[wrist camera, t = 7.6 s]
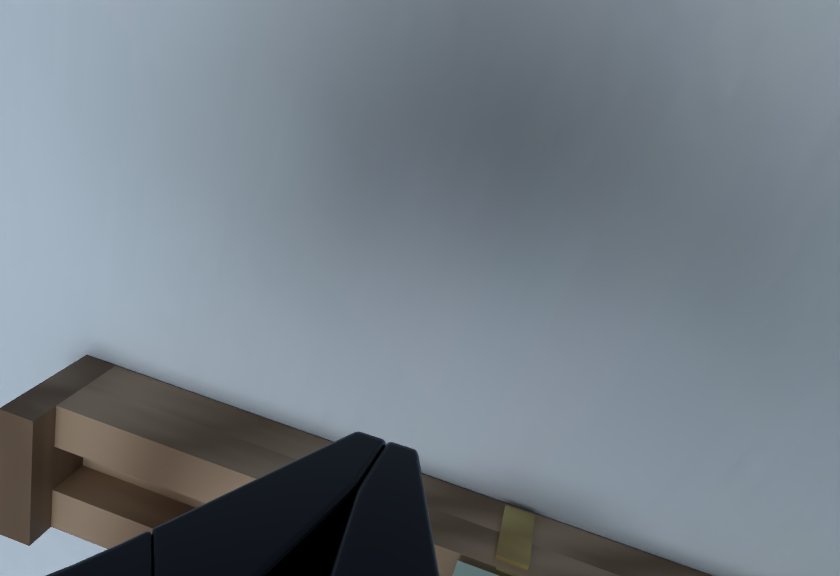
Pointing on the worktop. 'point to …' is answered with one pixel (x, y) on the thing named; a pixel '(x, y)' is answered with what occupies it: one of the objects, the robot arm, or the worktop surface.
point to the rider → (469, 570)
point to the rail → (230, 476)
